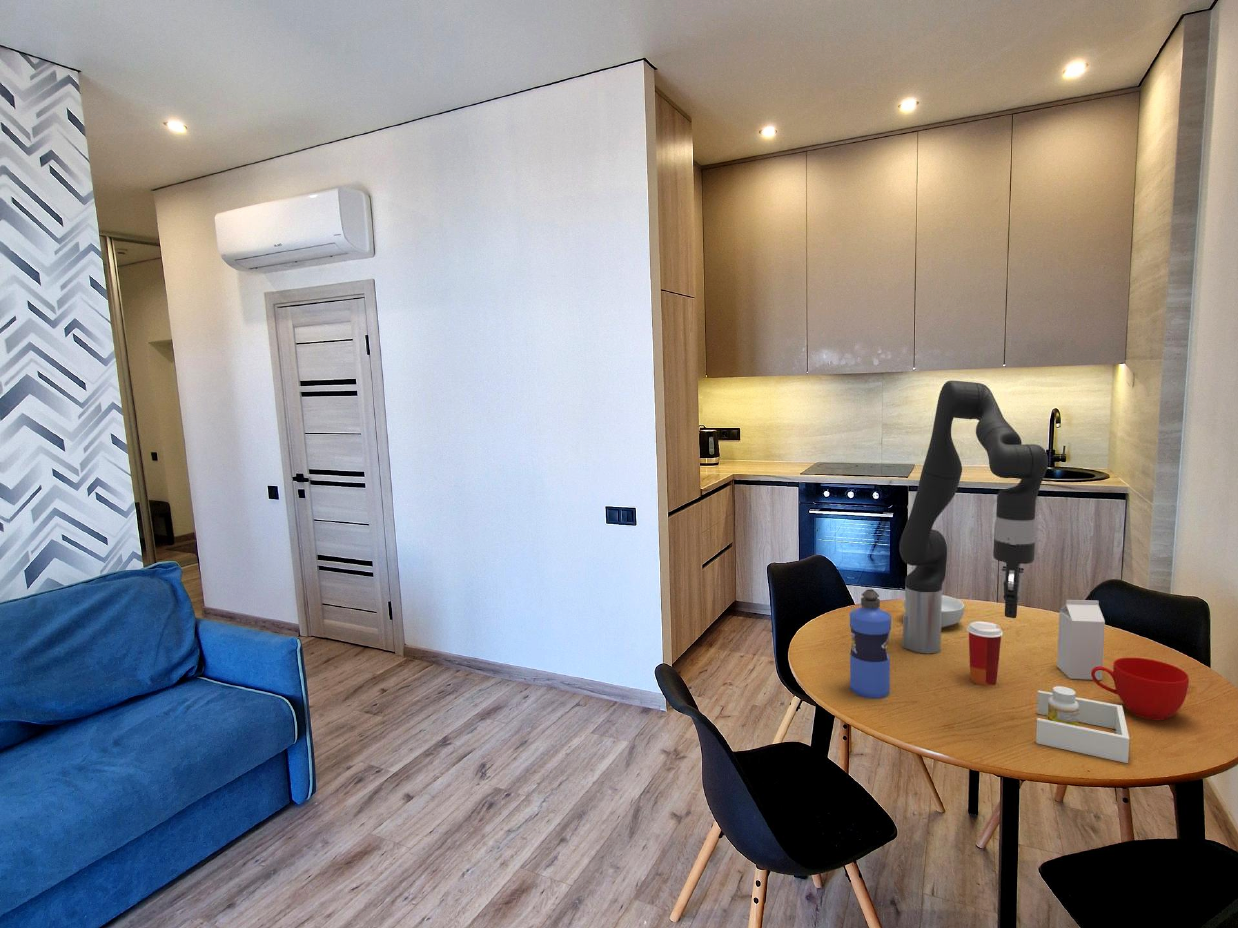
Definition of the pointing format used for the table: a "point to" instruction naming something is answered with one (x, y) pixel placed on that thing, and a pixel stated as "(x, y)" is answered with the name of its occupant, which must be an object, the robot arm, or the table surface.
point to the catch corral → (1086, 729)
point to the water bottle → (870, 648)
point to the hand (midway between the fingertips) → (1010, 616)
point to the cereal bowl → (950, 611)
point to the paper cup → (984, 652)
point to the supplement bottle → (1063, 706)
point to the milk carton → (1080, 639)
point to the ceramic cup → (1147, 686)
